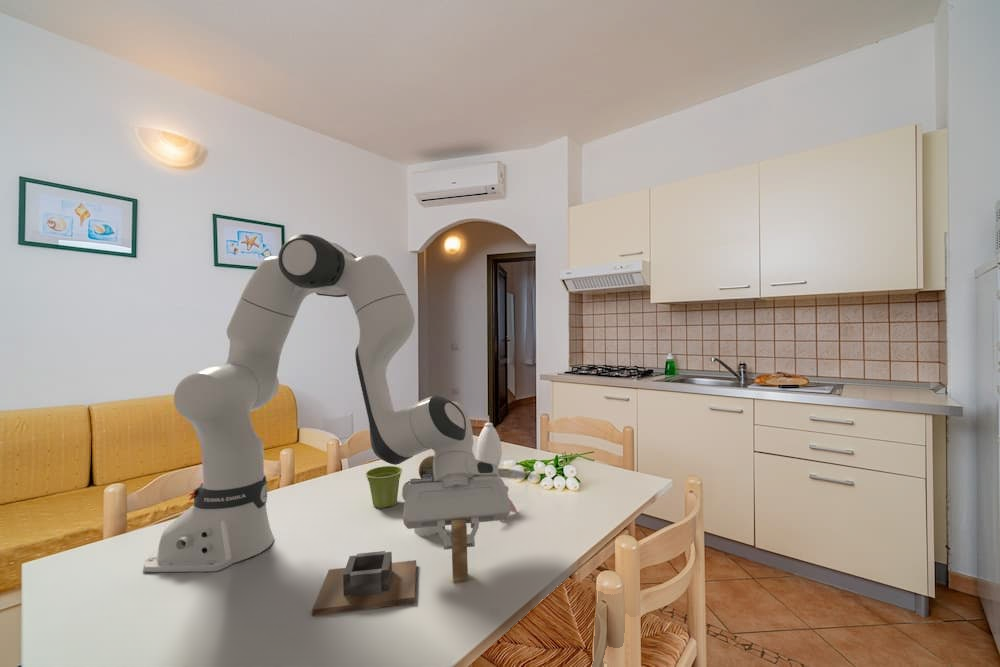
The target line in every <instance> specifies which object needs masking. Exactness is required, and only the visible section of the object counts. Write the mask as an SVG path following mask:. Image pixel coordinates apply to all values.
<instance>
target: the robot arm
mask: <svg viewBox="0 0 1000 667" xmlns="http://www.w3.org/2000/svg"><path fill="white" fill-rule="evenodd" d="M242 291H243V292H242V293H241V296H240V298H239V301H238V303H237V305H236V307H235V310H234V311H233V314H232V316H231V318H230V320H229V323H228V326H227V327H226V335H227V338H228V340H229V349H228V350H229V351H228V356H227V359H226V362H225V363H224V364H223V365H219V366H218V365H217V366H209V367H204V368H201V369H199V370H197V371H195V372H193V373H191V374H189V375H186V376H185V377H183V379H181V380H180V382H178V384H177V386H176V387H175V390H174V393H173V394H174V395H173V402H174V406H175V408H176V410H177V412H178V414H179V415H181V417H182V418H183V419H186V420H187V421H188V422H189V423H190V424H191V426H192V427H193V429H194V431H195V434H196V436H197V440H198V442H199V446H200V451H201V452H200V453H201V462H202V464H201V465H202V483H200V486H198V487H197V488H196V489H194V490H193V491H192V492H191V493H190V494H189V499H188V500H189V501H191V500H194V501H193V502H194V503H193V505H191V506H190V507H189V508H188V509H186V510H185V511H184V512H183V513H182V514H180V516H178V517H177V518H175V519H174V520H173V521H172V522H171V523H170V524H168V526H167V527H166V528H165V529H164V530H163V532H162V534H161V536H160V539H159V543H158V548H157V549H156V550H155V551H153V552H152V553H151V554H149V556H148V557H147V558H146V560H145V561H144V563H143V572H144V573H145V572H149V573H157V572H158V573H160V572H162V573H163V572H165V573H167V572H172V573H173V572H174V573H175V572H178V573H179V572H180V573H181V572H184V573H186V572H217V571H221V570H223V569H225V568H227V567H229V566H231V565H233V564H235V563H238V562H241V561H244V560H246V559H249V558H251V557H254V556H256V555H258V554H260V553H262V552H263V551H266V549H268V548H269V547H270V546H271V545H272V544H273V543H274V541H275V537H274V534H273V532H272V529H271V525H270V521H269V516H268V512H267V500H268V485H267V476H266V475H265V466H264V463H265V462H264V460H265V459H264V456H265V455H264V454H265V453H264V441H263V439H262V438H261V436H258V434H257V432H256V431H255V429H254V426H253V423H252V419H251V412H253V411H257V410H259V409H261V408H263V407H264V406H265V405H267V404H268V403H269V402H271V401H272V400H273V399H274V398H275V397H276V396H277V393H278V392H279V386H280V385H279V384H280V383H279V382H280V381H279V378H278V370H279V366H280V365H279V364H280V359H281V355H282V351H283V348H284V345H285V342H286V340H287V337H288V335H289V333H290V331H291V328H292V326H293V323H294V321H295V319H296V316H297V314H298V312H299V310H300V307H301V304H302V303H303V301H304V299H305V298H307V297H308V296H309V295H311V294H314V293H315V294H316V295H317V296H324V297H332V298H344V297H347V298H348V300H350V303H351V305H352V308H353V310H354V313H355V315H356V317H357V321H358V326H359V339H358V340H359V341H358V344H357V347H356V348H355V352H354V353H355V354H354V355H355V363H356V368H357V374H358V378H359V383H360V387H361V392H362V396H363V397H362V398H363V402H364V405H365V410H366V415H367V418H368V424H369V426H368V428H369V441H370V447H371V449H372V451H373V453H374V454H375V456H377V458H378V459H380V460H382V461H383V462H385V463H387V464H391V465H392V466H396V465H400V464H402V463H404V462H405V461H407V460H409V459H411V458H413V457H414V456H416V455H418V454H422V453H423V452H424V453H425V452H426V451H429V450H433V452H434V455H433V456H434V459H433V477H428V478H421V477H420V478H410V479H409V481H406V482H405V483H404V484H403V485H402V490H401V492H402V494H401V495H402V498H403V500H404V505H403V513H402V520H403V525H404V526H405V528H407V529H408V530H410V529H413V530H414V528H423V527H434V526H437V527H438V532H437V533H438V535H439V536H440V537H441V539H442V541H443V550H445V551H446V550H452V535H450V536H449V535H448V534H447V532H445V531H446V526H451V521H452V520H463V519H465V520H466V524H470V528H471V531H470V533H469V534H467V548H474V547H475V545H476V544H475V543H476V539H475V536H476V534H477V532H478V529H479V525H480V523H486V522H487V523H488V522H496V521H500V520H502V521H505V520H507V518H508V517H509V515H510V513H511V511H510V502H509V499H510V497H509V494H508V493H507V490H506V487H505V486H506V485H505V482H504V480H503V479H502V478H501V477H500V474H499V473H500V472H499V469H500V468H499V465H498V466H497V465H496V464H493V463H488V462H484V461H480V460H478V459H476V456H475V454H474V451H473V448H474V434H473V428H472V424H471V423H472V422H471V418H470V416H469V413H468V411H467V409H466V407H465V406H464V405H462V404H461V403H460V402H457V401H452V400H449V399H448V398H446V397H444V396H441V395H436V394H434V395H432V396H429V397H426V398H423V399H421V400H420V401H417V402H415V403H413V404H411V405H409V406H407V407H404V408H402V409H400V410H397V411H395V410H394V407H393V403H392V398H391V394H390V390H389V386H388V380H387V375H386V374H387V369H388V366H389V364H390V362H391V360H392V359H393V357H394V356H395V355H396V354H397V353H398V352H399V350H401V348H402V347H403V346H404V344H405V343H407V341H408V339H409V338H410V336H411V334H413V329H414V326H415V321H416V320H415V314H414V309H413V307H412V304H411V301H410V299H409V296H408V295H407V293H406V289H405V287H403V284H402V282H401V280H400V278H399V277H398V274H397V273H396V272H395V270H394V269H393V266H392V265H391V264H390V262H389V261H388V260H387V259H386V258H385V257H383V256H382V255H380V254H379V255H378V254H365V255H362V256H359V257H357V256H356V255H355V254H354V253H352V252H349V251H348V250H347V249H345V248H344V247H343V246H342V245H340V244H337V243H335V242H331V241H329V240H327V239H325V238H323V237H321V236H318V235H315V234H310V233H309V234H307V233H303V234H302V233H300V234H297V235H293V236H291V237H289V238H287V240H285V242H284V243H283V244H282V245H281V248H280V250H279V252H278V255H272V256H268V257H266V258H264V259H263V260H262V261H261V262H260V263H259V265H258V266H257V268H255V270H254V272H253V273H252V274H251V276H250V278H249V279H248V281H247V283H246V286H245V287H244V289H243V290H242Z"/></svg>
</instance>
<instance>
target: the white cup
mask: <svg viewBox="0 0 1000 667" xmlns="http://www.w3.org/2000/svg"><path fill="white" fill-rule="evenodd" d="M413 530H414V534H415V535H417V536H421V537H428V536H432V535H435V534H437V533H438V527H437V526H434V527H423V528H413Z"/></svg>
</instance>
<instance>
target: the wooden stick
mask: <svg viewBox="0 0 1000 667" xmlns="http://www.w3.org/2000/svg"><path fill="white" fill-rule="evenodd" d="M467 526H468V525H467V523H466V520H465V519H463V520H452V521H451V525H450V527H451V529H450V531H451V536H452V549H451V561H452V562H451V564H452V570H451V571H452V582H453V583H454V584H455V583H461V582H468V581H469V572H468V571H469V570H468V567H469V566H468V547H467V533H468V532H467V530H468V529H467Z"/></svg>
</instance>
